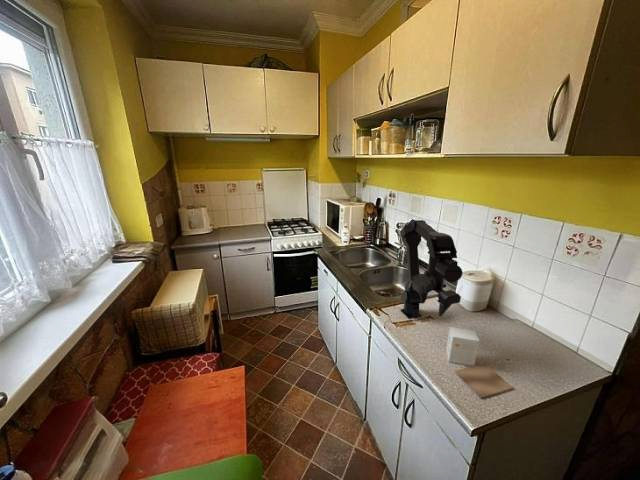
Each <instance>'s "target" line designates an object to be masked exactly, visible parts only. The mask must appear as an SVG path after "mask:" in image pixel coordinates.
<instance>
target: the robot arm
mask: <svg viewBox="0 0 640 480" xmlns="http://www.w3.org/2000/svg"><path fill="white" fill-rule="evenodd" d="M399 235H400V238H401V242H402V244H403V245H404V247H405V249H406V265H407V268H406V269H407V282H406V283H405V285H404V291H403V292H402V293H400V300H401V301H402V303H403V308H402V309H401V308H400V312H401V313H402V314H403V316H405V317H406V318H408V319H412V318H413V319H414V318H418V317H422V314H421V313H420V304H421V305H423V304H425V303H426V300H427V298H428V294H430V292H432V291H434V292H435V293H437V298H438V299H437V300H436V301H437V302H438V304H439V306H438V316H439V317H441V316H443V315H444V314H445V313H446V312H447V310H448V309H449V308H450V307H451V306H452V305H455V304H460V303H461V300H462V296H461V295H460V294H459V293H457V292H455V291H454V290H452V289H450V290H444V288H447V284H446V283H445V280H446V281H447V282H448V283H456V282H458V281H459V280H460V279H461V278H462V276H463V272H464V271H463V269H462V267H460V266H459V265H458V263H459V262H458V261H457V260H455V259H458V255H457V253H458V252H457V249H456V245H455V242H454V239H453V237H452V236H451V235H449V234H447V233H444V232H439V231H437V230H435V229H434V228H433V227H432V226H430V225H429V224H428V223H427V222H426V220H420V219H418V220H417V219H415V220H412V221H411V222H409V223H408V224H406V225H404V226H403V227H402V229H401V230H400V234H399ZM422 239H424V240H425V241H426V244H425V246H426V247H427V249H428V251H427V254H429V256H428V257H429V258H428V266H427V270H424V273H420V262H419V261H420V260H419V246H420V243H421V242H422Z"/></svg>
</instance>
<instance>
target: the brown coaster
mask: <svg viewBox="0 0 640 480" xmlns="http://www.w3.org/2000/svg"><path fill="white" fill-rule="evenodd" d="M454 373H455V374H456V375H457V376H458V377H459V378H460V379H461V380H462V381H463V383H465V384H466V385H467V386H468V387H469V389H471V390H472V392H474V393H475V394H476V396H477V397H478V398H479V399H481V400H483V399H487V398H489V397H492V396H495V395H499V394H501V393H505V392H507V391H511V390H513V389H514V387H513V386H512V384H510V383H509V382H507V381H506V380H505V379H504V378H503V377H502V376H500V374H499V373H497V372H496V371H495V370H494V369H492V367H490V366H489V365H488V364H486V363H485V362H483V363H479V364H475V365H474V366H467V367H465V368H462V369H458V370H457V369H456V370H455V371H454Z"/></svg>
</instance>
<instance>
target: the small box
mask: <svg viewBox="0 0 640 480" xmlns="http://www.w3.org/2000/svg"><path fill="white" fill-rule="evenodd" d="M479 346H480V339H479V337H478V335H477V333H476V330H475V329H468V328H461V327H454V326H453V327H452V326H449V329H448V336H447V342H446V349H445V354H446V357H447V361H448V363H453V364H457V365H458V364H459V365H464V366H468V367H471V366H475V365H476V364H475V363H476V359H477V354H478V350H479Z"/></svg>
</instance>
